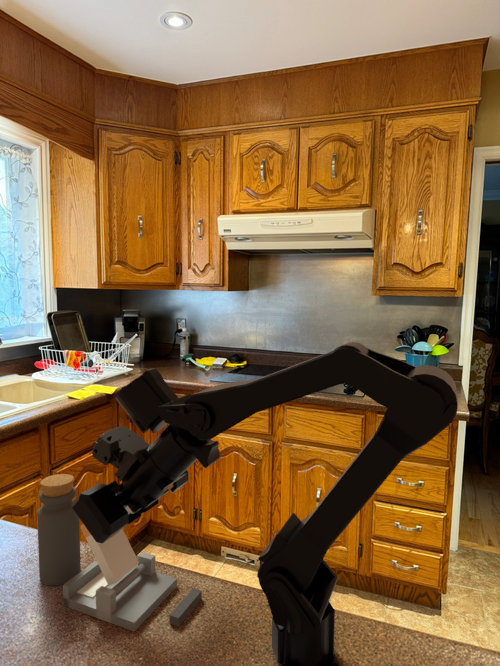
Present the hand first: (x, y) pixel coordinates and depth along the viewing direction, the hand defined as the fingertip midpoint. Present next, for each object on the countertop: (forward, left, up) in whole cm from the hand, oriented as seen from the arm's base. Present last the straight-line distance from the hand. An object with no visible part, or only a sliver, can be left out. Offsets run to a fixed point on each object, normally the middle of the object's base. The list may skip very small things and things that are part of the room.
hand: (105, 523), depth 66 cm
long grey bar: (-11, +7, -10) cm, 16 cm away
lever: (-3, +2, -8) cm, 9 cm away
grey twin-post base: (-3, +2, -10) cm, 11 cm away
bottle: (+7, -5, -10) cm, 14 cm away
